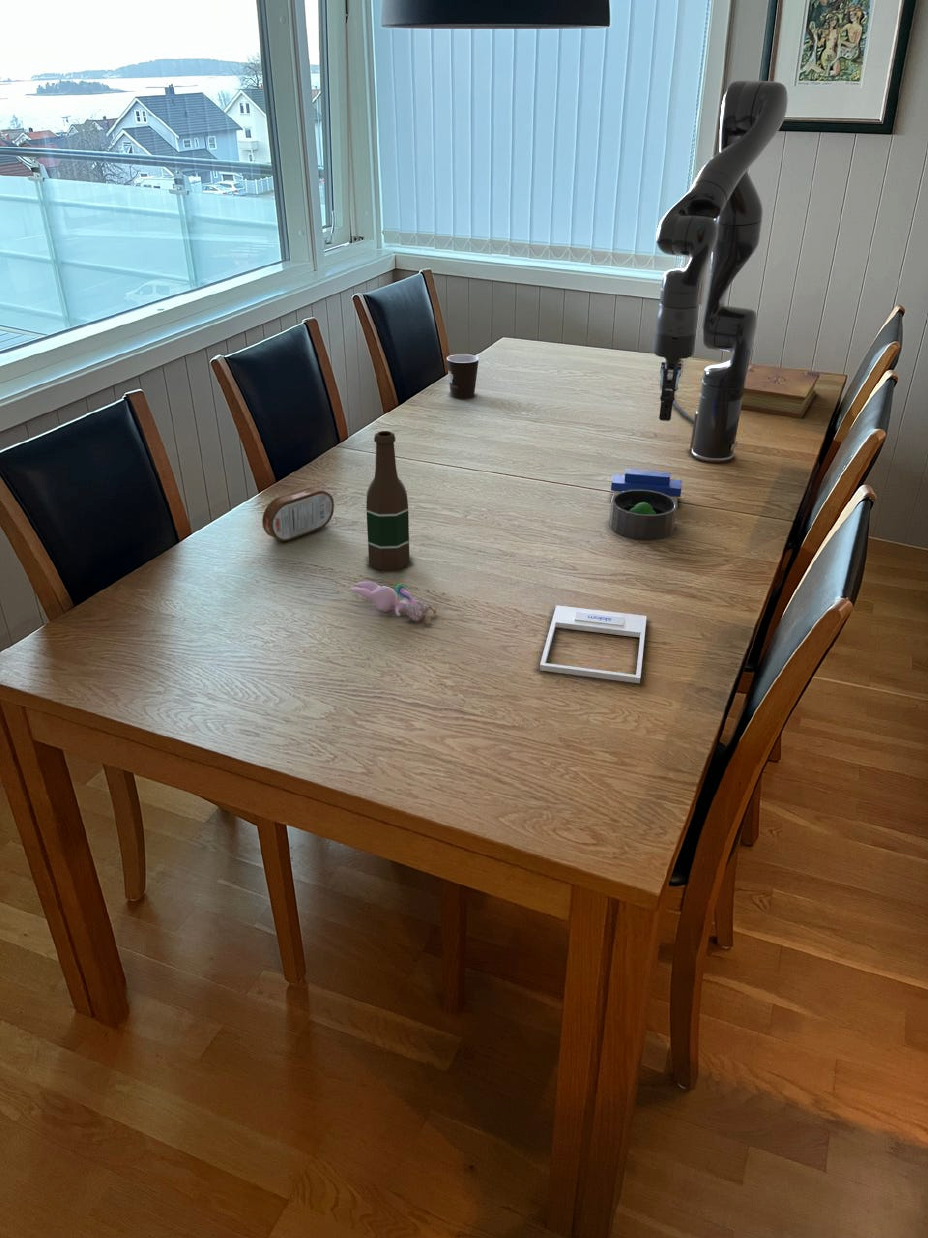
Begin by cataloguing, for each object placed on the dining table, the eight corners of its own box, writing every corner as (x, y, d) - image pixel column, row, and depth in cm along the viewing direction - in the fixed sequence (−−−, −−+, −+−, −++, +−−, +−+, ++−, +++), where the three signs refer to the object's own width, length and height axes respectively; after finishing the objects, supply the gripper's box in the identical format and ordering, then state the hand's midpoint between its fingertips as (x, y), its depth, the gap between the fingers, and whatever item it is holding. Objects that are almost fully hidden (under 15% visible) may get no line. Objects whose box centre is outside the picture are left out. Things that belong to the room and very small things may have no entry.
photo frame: (646, 614, 147) (640, 677, 132) (645, 620, 148) (639, 683, 133) (556, 604, 150) (540, 663, 135) (555, 610, 150) (539, 670, 135)
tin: (328, 519, 180) (325, 479, 176) (338, 524, 178) (335, 484, 174) (263, 543, 171) (258, 501, 167) (273, 548, 169) (268, 506, 165)
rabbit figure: (439, 619, 151) (360, 587, 155) (444, 589, 147) (363, 557, 151) (421, 637, 146) (340, 603, 150) (426, 606, 142) (343, 573, 146)
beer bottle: (377, 575, 161) (371, 444, 148) (361, 557, 166) (354, 429, 154) (418, 566, 164) (415, 437, 151) (400, 548, 170) (396, 423, 157)
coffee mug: (478, 400, 246) (478, 362, 241) (446, 399, 246) (446, 362, 241) (478, 387, 256) (478, 351, 251) (447, 386, 256) (447, 350, 251)
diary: (747, 384, 261) (750, 364, 258) (815, 393, 254) (819, 373, 251) (728, 406, 243) (732, 385, 240) (801, 417, 236) (805, 395, 233)
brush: (609, 501, 189) (612, 474, 186) (611, 492, 193) (614, 465, 190) (678, 508, 187) (682, 480, 183) (679, 498, 191) (683, 471, 188)
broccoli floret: (622, 526, 178) (625, 503, 175) (641, 518, 181) (644, 495, 179) (644, 535, 174) (647, 512, 172) (663, 527, 178) (666, 504, 175)
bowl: (597, 520, 181) (599, 494, 178) (651, 511, 185) (654, 485, 182) (630, 546, 171) (633, 519, 168) (686, 536, 175) (690, 509, 172)
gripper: (657, 318, 179) (648, 400, 187) (653, 337, 167) (644, 423, 175) (696, 321, 177) (685, 403, 186) (695, 339, 166) (684, 426, 174)
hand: (665, 412), depth 181 cm, fingers open, 8 cm apart
